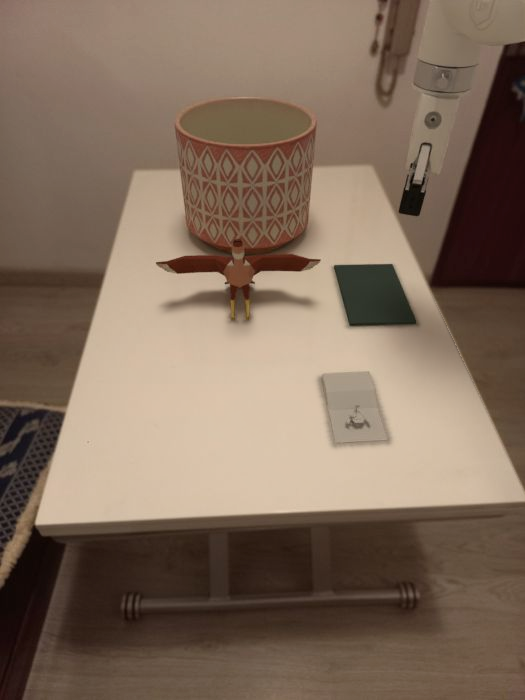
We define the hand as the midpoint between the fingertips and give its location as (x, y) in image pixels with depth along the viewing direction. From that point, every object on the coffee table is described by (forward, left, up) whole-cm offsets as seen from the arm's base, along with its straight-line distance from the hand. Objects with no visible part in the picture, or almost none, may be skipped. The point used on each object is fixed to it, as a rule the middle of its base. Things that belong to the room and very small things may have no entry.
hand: (410, 206), depth 73 cm
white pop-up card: (+1, +26, -20) cm, 33 cm away
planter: (+34, -17, -20) cm, 43 cm away
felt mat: (+3, -2, -20) cm, 20 cm away
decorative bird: (+26, +9, -20) cm, 34 cm away
